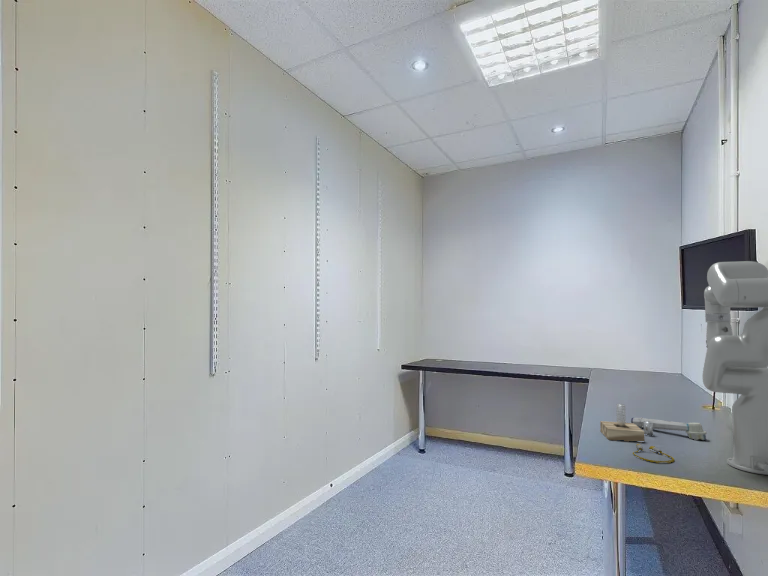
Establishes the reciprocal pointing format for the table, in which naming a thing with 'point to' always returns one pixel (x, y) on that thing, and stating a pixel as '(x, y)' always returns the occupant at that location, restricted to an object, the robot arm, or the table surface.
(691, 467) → the table surface
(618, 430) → the bored block
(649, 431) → the short pin
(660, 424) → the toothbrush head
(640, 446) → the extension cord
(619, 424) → the long pin
